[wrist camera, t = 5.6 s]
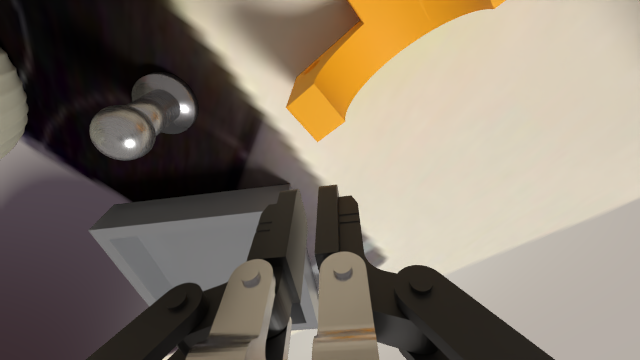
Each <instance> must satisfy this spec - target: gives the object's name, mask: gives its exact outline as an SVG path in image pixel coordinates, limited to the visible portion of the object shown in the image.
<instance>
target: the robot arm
mask: <svg viewBox="0 0 640 360" xmlns="http://www.w3.org/2000/svg"><path fill="white" fill-rule="evenodd" d="M307 231H308V229H307V219H306V215H305V211H304V206H303V202H302V198H301V194H300V191H299V189H294V190H285V191H280V193H279V197H278V201H277V204H270V205H268V206H267V207H266V209H265V210H264V211H263V212H262V213H261V216H260V219H259V222H258V226H257V229H256V233H255V235H254V238H253V242H252V245H251V248H250V251H249V254H248V257H247V261H246V262H245V263H243V264H241V265H240V266H238V267H237V268H236V269H235V270H234V271H233V273H232V274H231V276H230V278H229V281H228V282H226V283H224V284H222V285H219V286H216V287H213V288H211V289H208V290H205V291H203V290H202V289H201V287H200V286H199V285H198V284H196V283H190V282H189V283H183V284H180V285H178V286H175V287H174V288H172V289H170V290H169V291H168V292H166V293H165V294H164V295H163V296H162V297H160V298H159V299H158V300H157V301H156V302H154V303H153V304H152V305H151V306H150V307H148V308H147V309H146V310H145V311H144V312H142V313H141V314H140V315H139V316H138V317H136V318H135V319H134V320H133V321H132V322H131V323H129V324H128V325H127V326H126V327H125V328H123V329H122V330H121V331H120V332H118V333H117V334H116V335H115V336H114V337H113V338H111V339H110V340H109V341H108V342H107V343H105V344H104V345H103V346H102V347H100V348H99V349H98V350H97V351H96V352H94V353H93V354H92V355H91V356H90V357H88V358H87V359H86V360H162V359H163V358H164V357H165V356H166V355H167V354H168V353H169V352H170V351H171V350H172V349H173V348H174V347H175V346H177V347H178V350H177V351H176V352H175V353H174V354H173V355H172V356H171V357H170V358H169V359H168V360H287V359H288V351H289V344H290V335H291V327H292V320H291V317H290V313H291V306H292V303H301V294H302V284H303V274H304V263H305V253H306V243H307ZM315 257H316V261H317V266H318V270H319V306H318V332H317V336H314V340H313V347H312V360H379V354H378V346H377V342H380V343H383V344H386V345H389V346H392V347H396V348H398V349H399V351H400V352H401V353H402V355H403V356H404V357H405V358H406V359H407V360H555V359H553V358H552V357H551V356H549V355H548V354H547V353H545V352H544V351H543V350H541V349H540V348H539V347H537V346H536V345H535V344H533V343H532V342H530V341H529V340H528V339H526V338H525V337H524V336H523V335H521V334H520V333H518V332H517V331H516V330H515V329H513V328H512V327H511V326H509V325H508V324H507V323H505V322H504V321H503V320H501V319H500V318H499V317H497V316H496V315H495V314H493V313H492V312H490V311H489V310H488V309H487V308H485V307H484V306H483V305H481V304H480V303H479V302H477V301H476V300H475V299H473V298H472V297H471V296H469V295H468V294H467V293H465V292H464V291H463V290H461V289H460V288H458V287H457V286H456V285H455V284H453V283H452V282H451V281H449V280H448V279H447V278H445V277H444V276H443V275H441V274H440V273H439V272H437V271H436V270H434V269H432V268H430V267H427V266H422V265H412V266H408V267H405V268H404V269H402V270H401V271H399V272H398V274H396V273H392V272H387V271H383V270H380V269H378V268H376V267H374V266H373V265H371V264H370V263H369V262H368V260H367V259H366V257H365V255H364V249H363V241H362V233H361V225H360V218H359V210H358V203H357V202H356V201H355V199H354V198H353V197H352V196H343V197H339V193H338V187H337V185H329V186H320V187H319V192H318V208H317V224H316V240H315Z"/></svg>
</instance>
